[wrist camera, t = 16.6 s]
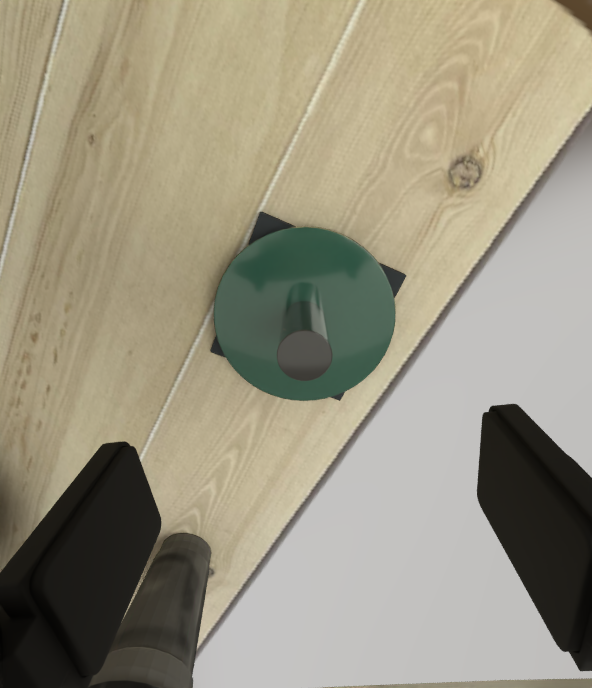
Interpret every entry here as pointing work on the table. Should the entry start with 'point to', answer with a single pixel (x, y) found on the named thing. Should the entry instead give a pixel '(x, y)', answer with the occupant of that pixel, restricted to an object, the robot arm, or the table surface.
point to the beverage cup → (161, 621)
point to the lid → (304, 313)
